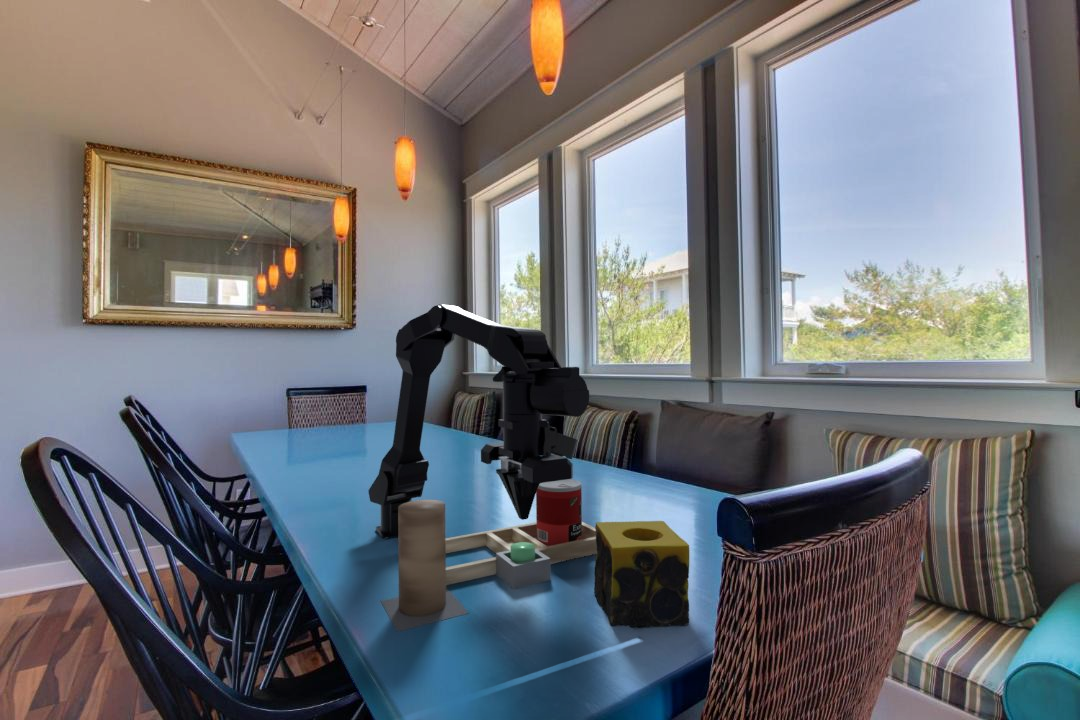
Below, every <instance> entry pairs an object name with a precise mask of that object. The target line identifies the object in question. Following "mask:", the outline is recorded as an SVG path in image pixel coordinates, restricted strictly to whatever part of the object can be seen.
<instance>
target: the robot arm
mask: <svg viewBox="0 0 1080 720" xmlns="http://www.w3.org/2000/svg"><path fill="white" fill-rule="evenodd" d="M456 335H457V336H459V337H461V338H462V339H465V340H468V341H470V342H472V343H474V344H476V345H479V346H481V347H483V348H484V349H485V350H487V353H488V355H489V357H491V358H492V359H493V360H495V361H496V362H497V363H498V364H500V365H501V368H500V370H499V371H498V372H497V373H496V374H495V375H494V376H493V377H492V382H494V383H502V409H503V410H502V411H503V413H502V415H503V417H502V418H503V419H501V418H500V419H497V420H498V425H497V426H498V427H501V428H503V442H495V443H485V445H484V446H483V447H482V448H481V449H480V463H483V464H485V465H490V464H492V462H493V461H500V468H497V469H495V473H496V474H497V475H498V476H499V479H500V481H501V482H502V484H503V486H504V488H505V491H506V493H507V494H508V497H509V500H510V501H511V503H512V506H513V507H514V510H515V512H516V514H517V516H518V518H519V519H520V520H522V521H523V520H528V519H529V516H530V512H531V510H532V506H533V503H534V500H535V498H536V491H537V489H538V486H539V484H540V483H544V482H552V481H559V480H566V479H572V480H573V477H574V476H573V475H574V469H573V468H574V467H573V466H574V465H573V463H572V462H571V461H570V460H573V457H574V454H575V450H576V446H577V444H578V443H577V442H578V439H577V438H575V437H571V436H569V435H566V434H563V433H559V432H558V430H557V428H556V427H553V426H551V425H550V422H549V421H548V419H543V415H545V416H548V415H549V416H559V417H569V418H570V417H571V418H572V417H574V418H578V417H580V416H582V415H583V414H584V413H585V412H586V410H587V409H588V406H589V402H590V401H589V400H590V390H589V389H588V386H587V383H586V381H585V379H584V378H583V376H581V375H580V367H579V366H563V367H562V366H561V364H560V362H559V361H558V359H557V358H556V355H555V354H554V353H553V351H552V349H551V347H550V346H549V344H548V340H547V336H546V334H545V333H544V332H543V331H542V330H540V329H536V328H530V327H529V328H527V327H519V326H518V327H517V326H511V325H510V326H508V325H503V324H500V323H498V322H495V321H492V320H490V319H489V318H488V319H487V318H485V317H482V316H480V315H476V313H472V312H469V311H467V310H464V309H463V308H461V307H460V306H456V305H449V304H437V305H434V306H432V307H431V308H430V309H429V310H428V311H427V312H425V313H422V314H420V315H419V316H417V317H415V318H412V319H410V320H409V321H408V322H407V323H406V324H404V325H403V326H402V327H401V328H399V329H398V331H397V333H396V337H395V357H396V360H397V362H398V364H399V366H400V368H401V370H402V373H401V382H400V389H399V390H400V391H399V396H398V397H399V398H398V403H397V404H398V405H397V411H396V419H395V426H394V434H393V440H392V441H393V442H392V446H391V448H390V449H389V450H387V451H388V452H387V453H386V454H385V455H384V457H383V458H382V459H381V464H380V466H379V472H378V475H377V477H376V478H375V479H374V481H373V482H372V484H371V486H370V487H369V489H368V498H369V501H370V502H371V503H374V504H376V505H380V525H378V526H376V527H375V531H376V532H377V533H378V534H379V536H380V538H382V539H389V538H394V537H398V507H399V506H400V505H401V504H403V503H406V502H410V501H413V499H414V498H415V499H416V498H421V497H422V496H423V491H424V487H425V483H426V482H428V471H429V470H428V469H429V466H430V463H429V460H427V459H425V458H424V455H423V453H422V451H421V443H422V442H421V441H422V436H423V430H424V421H425V415H426V408H427V402H428V395H429V388H430V380H431V376H432V374H433V373H434V371H435V370H436V369H437V367H438V366H439V365H440V363H441V362H442V359H443V355H444V351H445V348H447V347H448V346H449V345H450V344H451V343H452V342H454V340H455V336H456Z"/></svg>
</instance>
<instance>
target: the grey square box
mask: <svg viewBox="0 0 1080 720" xmlns="http://www.w3.org/2000/svg"><path fill="white" fill-rule="evenodd" d="M495 557H496V574H495V575H496V576H497V577H498V578H500V579H501V580H503V582H505V583H506V584H507V585H508V586H510V588H512V589H513V590H516V589H521V588H524V587H528V586H532V585H536V584H541V583H544V582H549V581H551V579H552V577H551V576H552V575H551V573H552V572H551V571H552V569H551V565H552V564H551V559H550V558H549V557H547V556H546V555H544V554H543V553H541V552H540V551H538V550H537V549H535V560H531V561H526V562H521V563H517V564H516V563H515V562H513V561H512V560H511V550H509V551H504V552H499V553H495Z"/></svg>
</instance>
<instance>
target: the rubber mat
mask: <svg viewBox="0 0 1080 720" xmlns="http://www.w3.org/2000/svg"><path fill="white" fill-rule="evenodd" d="M380 603H381V605H382V606H383V608H384V610H385V612H386V614H387V616H388V617H389V620H390V622H391V623H392V625H393V627H394V628H395V631H396V633H398V632H402V631H406V630H409V629H414V628H417V627H422V626H426V625H429V624H433V623H437V622H441V621H444V620H449V619H453V618H457V617H460V616H464V615H468V614H470V613H469V612H468V610H467V609H466V608H465V606H463V605H462V603H461V602H460V601H459V600H458V599H457V597H456V596H455V595H454V594H453V593H452V592H451V591H450V590H449V588H448V587H447V586H446V605H445V607H444V608H443V609H442V610H441V611H439V612H437V613H434V614H431V615H427V616H420V617H414V616H407V615H404V614H402V613H401V612H400V611H399V596H398V597H393V598H389V599H384V600H380Z"/></svg>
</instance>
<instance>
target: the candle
mask: <svg viewBox="0 0 1080 720" xmlns="http://www.w3.org/2000/svg"><path fill="white" fill-rule="evenodd" d="M594 528H595V530H596V545H597V554H596V556H595V564H594V567H593V568H594V571H593V572H594V576H593V577H594V582H593V583H594V587H593V589H594V590H593V591H594V592H593V593H594V594H595V598H596V601H597V603H598V604H599V607H600V608H602V611H604V613H605V614H606V616H607V618H608V623H609V625H610V626H611V627H624V626H625V627H630V628H633V629H634V628H643V629H644V628H657V627H669V626H688V625H689V623H690V613H689V612H690V602H689V601H690V600H689V578H690V577H689V575H690V574H689V573H690V544H689V543H688V542H687V541H686V540H684V539H683V538H681V536H679V535H678V534H677V532H675V531H674V530H673V529H672V528H671V527H670V526H669V525H668V524H667V522H665V521H663V520H649V521H647V520H645V521H643V520H640V521H639V520H637V521H602V522H601V521H600V522H599V521H598V522H595V526H594Z"/></svg>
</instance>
